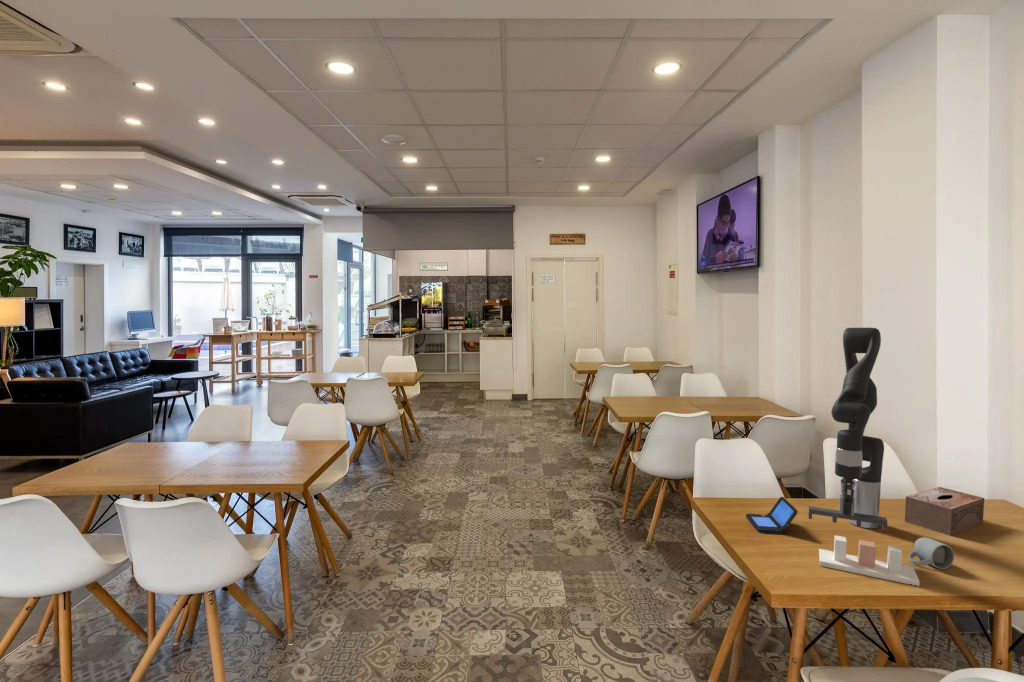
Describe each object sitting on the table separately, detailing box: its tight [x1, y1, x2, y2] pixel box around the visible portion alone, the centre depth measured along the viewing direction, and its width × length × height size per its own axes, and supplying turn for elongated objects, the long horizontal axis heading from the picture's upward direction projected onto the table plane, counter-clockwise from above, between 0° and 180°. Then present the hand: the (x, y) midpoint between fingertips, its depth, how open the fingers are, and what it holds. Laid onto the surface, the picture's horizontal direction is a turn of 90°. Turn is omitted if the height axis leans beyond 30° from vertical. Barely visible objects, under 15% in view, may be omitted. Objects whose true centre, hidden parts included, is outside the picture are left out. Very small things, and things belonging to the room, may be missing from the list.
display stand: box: [818, 535, 920, 587], centre depth 164 cm, size 10×25×8 cm, turn 61°
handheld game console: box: [745, 496, 798, 535], centre depth 197 cm, size 16×13×9 cm
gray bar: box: [808, 494, 888, 531], centre depth 176 cm, size 3×22×9 cm, turn 61°
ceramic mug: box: [908, 536, 955, 570], centre depth 168 cm, size 11×8×8 cm
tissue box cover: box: [904, 486, 985, 537], centre depth 202 cm, size 26×14×10 cm, turn 118°
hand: (846, 512), depth 176 cm, fingers closed on gray bar, 3 cm apart
